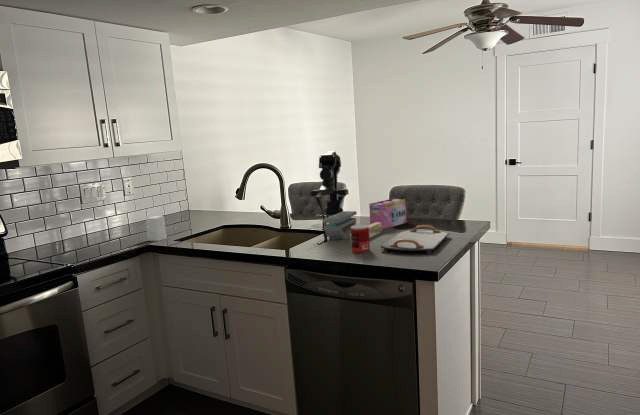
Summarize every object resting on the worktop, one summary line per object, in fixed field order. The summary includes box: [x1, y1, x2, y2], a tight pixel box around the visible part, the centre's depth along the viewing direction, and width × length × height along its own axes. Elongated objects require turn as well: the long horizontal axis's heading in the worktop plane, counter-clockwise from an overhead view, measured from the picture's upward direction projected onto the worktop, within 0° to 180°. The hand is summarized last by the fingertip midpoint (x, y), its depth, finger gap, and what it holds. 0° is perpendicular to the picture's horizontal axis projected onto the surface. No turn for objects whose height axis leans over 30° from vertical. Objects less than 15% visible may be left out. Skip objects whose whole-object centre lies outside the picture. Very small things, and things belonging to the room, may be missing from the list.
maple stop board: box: [349, 222, 383, 245], centre depth 233 cm, size 3×30×5 cm, turn 150°
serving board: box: [380, 224, 450, 255], centre depth 213 cm, size 39×23×6 cm, turn 154°
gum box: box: [368, 197, 408, 230], centre depth 261 cm, size 24×8×14 cm, turn 134°
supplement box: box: [144, 215, 167, 242], centre depth 265 cm, size 7×7×13 cm
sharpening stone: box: [322, 210, 358, 240], centre depth 240 cm, size 25×8×11 cm, turn 155°
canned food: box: [351, 224, 371, 254], centre depth 206 cm, size 8×8×11 cm
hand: (330, 209), depth 244 cm, fingers open, 9 cm apart
